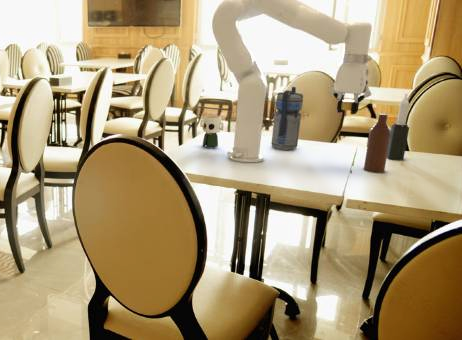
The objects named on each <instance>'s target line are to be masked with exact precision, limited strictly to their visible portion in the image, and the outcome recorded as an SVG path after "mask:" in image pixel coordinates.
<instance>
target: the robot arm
mask: <svg viewBox="0 0 462 340" xmlns="http://www.w3.org/2000/svg"><path fill="white" fill-rule="evenodd" d="M260 15H265V16H268V17H269V18H271V19H273V20H275V21H278V22H280V23H282V24H283V25H285V26H288V27H290V28H292V29H296V30H298V31H302V32H304V33H306V34H308V35H311V36H312V37H315V38H317V39H319V40H321V41H323V42H324V43H326V44H328V45H333V46H335V45H339V44H343V50H342V51H343V52H342V53H343V54H342V58H341V63H339V65H338V68H337V70H336V74H335V79H334V83H333V85H332V86H331V88H330V89H329V91H328V92H329V93H331V95H333V96H334V98H335V99H336V102H337V105H336V110H337V113H338V114H339V113H343V112H344V111H345V110H341V105H342V100H345V97H346V96H345V95H346V94H351V95H353V101H354V103H352V108H351V111H350V114H351V115H356V114H357V113H358V111H359V108H360V107H359V106H360V103H361V102H363V100H365V99H366V98H368V97H371V96H372V92H371V90H370V88H369V87H370V86H369V85H370V64H367V63H368V62H371V61H372V57H371V56H369V55H368V54H369V48H370V41H371V35H372V27H373V26H372V24H371V23H370V22H366V21H365V22H363V21H361V22H359V21H357V22H355V21H354V22H350V23H349V22H342V21H340V20H338V19H336V18H334V17H332V16H330V15H327V14H326V13H323V12H320V11H318V10H317V9H314V8H313V7H311V6H309V5H308V4H306V3H303V2H302V1H300V0H223V1H221V2H220V4H219V5H218V6H217V8H216V10H215V12H214V14H213V15H212V16H213V17H212V22H211V29H212V33H213V36H214V38H215V41H216V44H217V45H218V48H219V49H220V52H221V54H222V57H223V59H224V61H225V62H226V63H225V64H226V66H227V69H228V70H229V71H230V72H231V73H232V74H233V76H234V78H235V80H236V82H237V84H238V88H237V89H238V90H237V105H236V114H235V117H236V118H235V129H234V137H233V138H234V139H233V147H232V150H230V151H227V152H226V156H227V157H228V158H229V159H230V160H232V161H236V162H241V163H259V162H263V160H264V156H263V155H261V154H260V151H261V142H262V141H261V140H262V132H263V121H264V112H265V102H266V95H267V80H266V78H265V76H264V73H263V72H262V69H261V68H260V65H259V63H258V62H257V59H256V57H255V56H254V53H253V52H252V51H251V50H250V49H249V48H248V47H247V45H246V44H245V41H244V40H243V37H242V35H241V33H240V31H239V29H238V24H237V23H238V22H241V21H244V20H247V19H252V18H254V17H258V16H260Z"/></svg>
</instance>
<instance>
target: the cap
mask: <svg viewBox="0 0 462 340" xmlns="http://www.w3.org/2000/svg"><path fill="white" fill-rule="evenodd" d="M352 103H354V99H353V100H352V99H344V100H342V105H341V110H344V111H347V112H348V111H350V112H351V108H352Z"/></svg>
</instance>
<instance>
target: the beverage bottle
mask: <svg viewBox="0 0 462 340" xmlns="http://www.w3.org/2000/svg"><path fill="white" fill-rule="evenodd" d="M303 103H304V94H303V93H299V92H297V87H296V86H291V90H289V89H286V90H284V91H283V92H278V93H277V95H276V99H275V103H274V104H275V105H274V106H275V108H276V111H275V112H274V116H273V117H274V118H273V125H272V135H271V143H270V144H271V146H272V148H274V149H276V150H281V151H293V150H296V149H297V147H298V145H299V144H298V143H299V136H300V135H299V134H300V127H301V119H302V113H301V112H300V111H301V110H302V109H303V105H304V104H303Z"/></svg>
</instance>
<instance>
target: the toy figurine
mask: <svg viewBox="0 0 462 340" xmlns="http://www.w3.org/2000/svg"><path fill="white" fill-rule="evenodd" d="M199 127H200V128H202V131H203V132H204V135H203V140H202V147H204V148H208V149H215V148H217V147H218V146H219V138H218V137H219V136H218V133H220V132H221V131H224V129H225V123H224V122H223V121H222V116H221V115H215V114H214V115H213V114H207V115H204V116H203V118H202V119H200V122H199Z"/></svg>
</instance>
